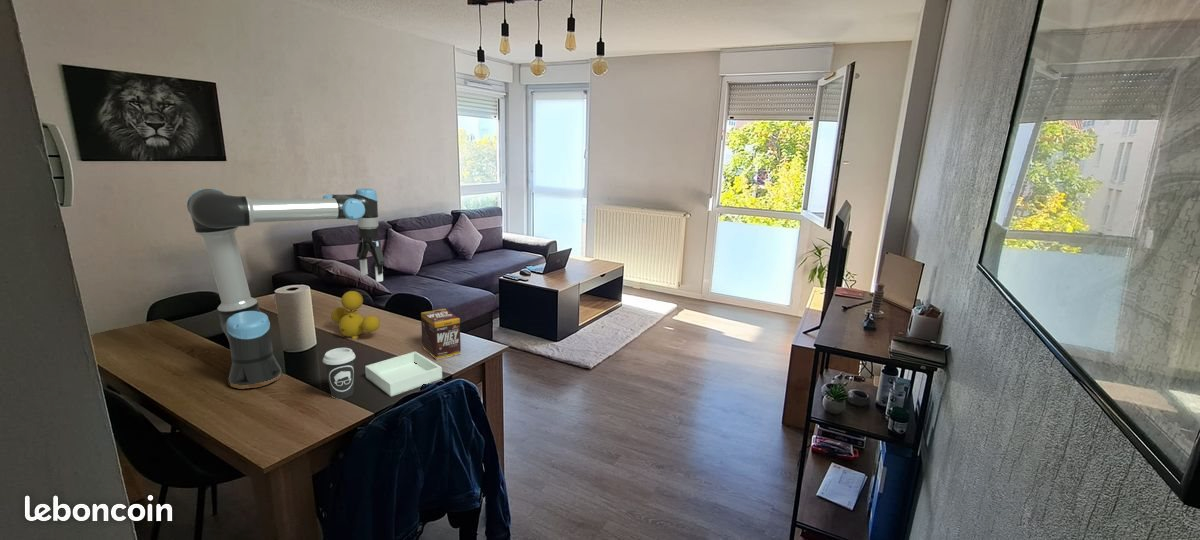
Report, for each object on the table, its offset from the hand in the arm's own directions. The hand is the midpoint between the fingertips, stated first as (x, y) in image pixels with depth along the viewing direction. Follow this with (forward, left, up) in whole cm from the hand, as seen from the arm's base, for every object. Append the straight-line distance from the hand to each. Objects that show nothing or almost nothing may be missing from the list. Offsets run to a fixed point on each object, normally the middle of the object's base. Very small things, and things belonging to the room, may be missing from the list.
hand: (371, 277), depth 202 cm
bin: (-9, -42, -27) cm, 51 cm away
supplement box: (+13, -30, -27) cm, 43 cm away
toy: (-6, +9, -27) cm, 29 cm away
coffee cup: (-29, -39, -27) cm, 56 cm away
